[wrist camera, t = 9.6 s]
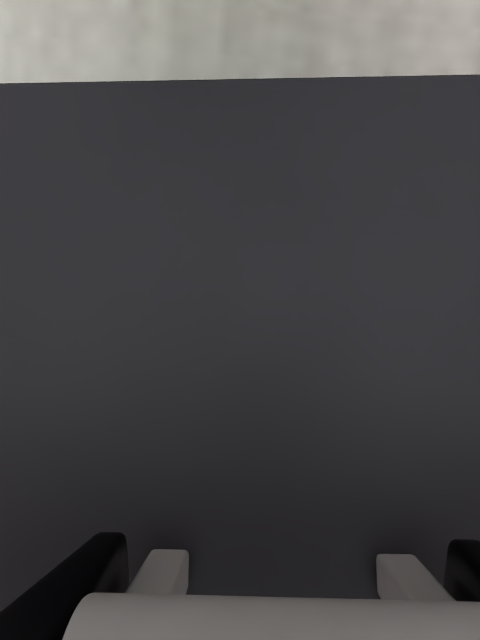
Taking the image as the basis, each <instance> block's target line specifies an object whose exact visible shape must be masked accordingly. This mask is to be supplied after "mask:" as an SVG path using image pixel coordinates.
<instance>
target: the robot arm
mask: <svg viewBox="0 0 480 640" xmlns="http://www.w3.org/2000/svg"><path fill="white" fill-rule="evenodd" d="M128 586H129V566H128V553H127V541H126V537H125V535H124V534H123V533H122V532H99V533H97V534H96V535H94V536H93V537H92V538H91V539H90V540H88V541H87V542H86V543H85V544H83V545H82V546H81V547H80V548H78V549H77V550H76V551H75V552H74V553H72V554H71V555H70V556H69V557H67V558H66V559H65V560H64V561H62V562H61V563H60V564H59V565H58V566H56V567H55V568H54V569H53V570H51V571H50V572H49V573H48V574H46V575H45V576H44V577H43V578H42V579H40V580H39V581H38V582H37V583H35V584H34V585H33V586H32V587H31V588H29V589H28V590H27V591H26V592H24V593H23V594H22V595H21V596H19V597H18V598H17V599H16V600H15V601H13V602H12V603H11V604H10V605H8V606H7V607H6V608H5V609H3V610H2V611H1V612H0V640H62V639H63V636H64V634H65V631H66V628H67V626H68V624H69V621H70V619H71V617H72V615H73V613H74V611H75V609H76V607H77V606H78V604H79V603H80V601H81V600H82V599H83V598H84V597H85V596H86V595H88V594H90V593H94V592H95V593H125V592H126V590H127V588H128ZM444 588H445V589H446V590H447V591H448V593H449V594H450V595H451V596H452V597H453V598H454V599H455V600H456V601H464V602H480V541H478V540H474V539H454V540H452V541H450V543H449V545H448V551H447V559H446V567H445V575H444Z"/></svg>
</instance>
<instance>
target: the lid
mask: <svg viewBox="0 0 480 640" xmlns="http://www.w3.org/2000/svg"><path fill="white" fill-rule="evenodd" d="M99 532H122V533H123V534H124V535H125V537H126V541H127V553H128V566H129V586H128V588H127V590H126V592H125V593H95V592H94V593H90V594H88V595H86V596H85V597H84V598H83V599H82V600H81V601H80V603H79V604H78V606H77V607H76V609H75V611H74V613H73V615H72V617H71V619H70V621H69V624H68V626H67V628H66V631H65V634H64V636H63V639H62V640H480V602H464V601H456V600H455V599H454V598H453V597H452V596H451V595H450V594H449V593H448V591H447V590H446V589H445V588H444V575H445V567H446V559H447V551H448V545H449V543H450V541H452V540H454V539H474V540H478V541H480V75H437V76H383V77H329V78H276V79H222V80H168V81H114V82H60V83H6V84H0V612H1V611H2V610H3V609H5V608H6V607H7V606H8V605H10V604H11V603H12V602H13V601H15V600H16V599H17V598H18V597H19V596H21V595H22V594H23V593H24V592H26V591H27V590H28V589H29V588H31V587H32V586H33V585H34V584H35V583H37V582H38V581H39V580H40V579H42V578H43V577H44V576H45V575H46V574H48V573H49V572H50V571H51V570H53V569H54V568H55V567H56V566H58V565H59V564H60V563H61V562H62V561H64V560H65V559H66V558H67V557H69V556H70V555H71V554H72V553H74V552H75V551H76V550H77V549H78V548H80V547H81V546H82V545H83V544H85V543H86V542H87V541H88V540H90V539H91V538H92V537H93V536H94V535H96V534H97V533H99Z"/></svg>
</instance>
